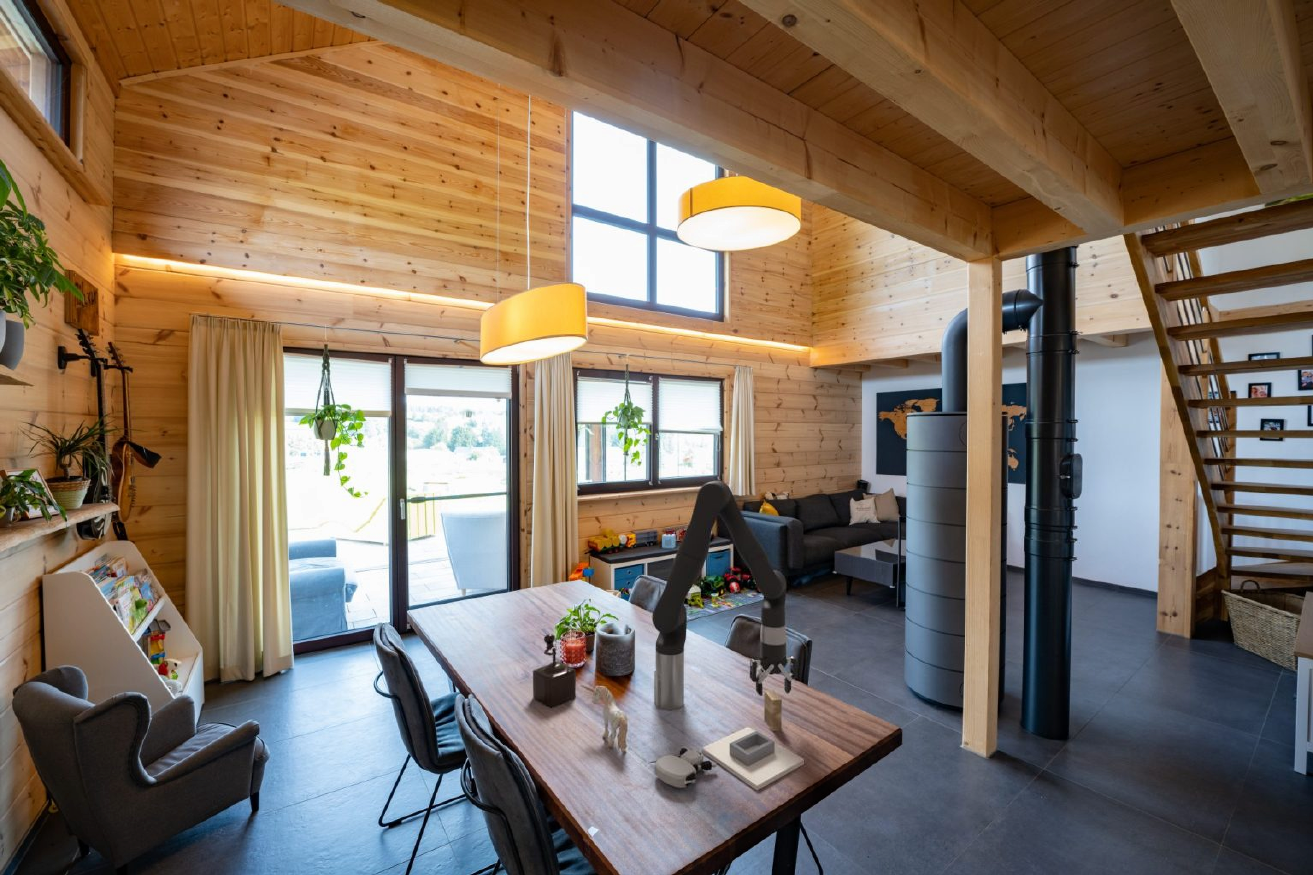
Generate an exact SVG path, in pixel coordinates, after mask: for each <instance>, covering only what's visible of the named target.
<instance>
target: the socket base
mask: <svg viewBox="0 0 1313 875" xmlns="http://www.w3.org/2000/svg"><path fill="white" fill-rule="evenodd" d="M701 753H702V754H703V755H705V756H707V757H708V758H709V759H711V760H713V762H715V763H716V764H717V765H720V766H721V767H722V768H724V769H725V770H727V771H729V772H730V773H731V774H732V775H734V776H735V777H737V778H739V780H741V781H743V782H744V783H746V784H747V785H748V786H750V787H751V788H752V789H754V790H755V791H759V790H761V789H763V788H764V787H766V786H768V785H769V784H771V783H773V782H775V781H777V780H778V779H780V778H782V777H784V776H785V775H787V774H789V773H791V772H792V771H795V770H797V769H798V768H799V767H801V766H803V765H805V759H804V758H802V757H801V756H799V755H797V754H795V753H793V752H792V751H790V750H789V749H786V748H785V747H784V746H781V745H779V744H778V743H776V742H775V741H774V740H773V739H771V738H770V737H768V736H766V735H764V734H763V733H762V732H759V731H757V730H754V729H752V728H750V727H749V726H746V727H745V728H742V729H740V730H738V731H736V732H733V733H732V734H730V735H727V736H725V737H723V738H720V739H718V740H717V741H714V742H712V743H710V744H708V745H705V746H704V747H702V748H701Z"/></svg>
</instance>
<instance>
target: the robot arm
mask: <svg viewBox="0 0 1313 875" xmlns="http://www.w3.org/2000/svg"><path fill="white" fill-rule="evenodd" d="M743 515H744V514H742V511H741V510H740V507H739V505H738V503H737V502H736V499H735V496H734V495H733V493H732V489H731V488H730V486H729V485H728V484H727V483H725V482H724V481H723V480H712V481H708V482H706V483H704V484H703V485H701V487H700V488H699V490H698V493H697V495H696V500H695V503H694V507H693V512H692V515H691V518H690V521H689V524H688V526H687V527H686V530H685V532H684V535H683V537H682V539H681V542H680V544H679V547H678V549H677V552H676V555H675V557H674V559H673V560H674V561H673V564H672V565H671V569H670V571H669V574H668V578H667V582H666V583H665V587H664V589H663V591H662V593H661V596H660V598H659V599H658V601H657V603H656V605H655V607H654V609H653V611H652V615H651V616H652V619H651V620H652V624H653V626H654V628H655V629H656V631H657V632H659V633H658V636H657V639H656V640H655V670H654V673H653V701H654V703H655V707H656V709H662V710H666V711H667V710H668V711H670V710H671V711H673V710H678V709H680V708H682V707H683V706H684V702H685V682H684V681H685V643H686V641H687V640H686V639H687V630H688V629H687V625H688V622H687V621H688V616H687V615H688V614H687V613H688V612H687V608H686V606H685V604H684V602H685V600H686V598H687V596H688V593H689V592H690V590H691V589H692V587H693V586H694V585H695V583H696V581H697V579H698V578H699V576H700V574H701V572H702V570H703V569H704V566H705V563H706V561H707V559H708V558H707V557H708V554H709V551H710V545H711V535H712V531H713V528H714V525H715V523H716V521H717V518H718V516H720V518H721V519H722V521H723V522H724V524H725V525H726V527H727V530H728V532H729V533H730V534H729V535H730V537H731V540H732V542H733V544H734V546H735V548H736V550H737V552H738V554H739V555H740V557H741V559H742V560H743V562H744V563H745V565H746V566H747V568H748V569H749V571H750V574H751V577H752V578H753V581H754V583H755V585H756V587H757V589H758V590H759V592H760V593H761V594H762V596H763V601H762V606H761V611H760V613H761V614H760V616H761V617H760V619H761V621H760V623H761V624H760V625H761V626H760V636H759V638H760V658H759V659H754V658H751V659H750V661H749V678H750V680H751V682H753V683H755V691H756V693H757V694H758V696H760V697H762V696H763V693H764V692H763V681H764V680H765V679H766V678H767V677H768V676H771V675H772V676H773V675H781V673H782V675H783V676H784V677H785V678H784V679H783V680H784V692H785V693H786V694H790V692H791V691H792V681H793V680H794V679H798V675H799V674H798V663H797V662H798V660H797V658H795V657H794V656H793V655H790V656H789V657H787V630H786V611H785V609H786V608H785V606H786V597H787V596H786V594H787V580H786V578H785V575H784V574H783V573H782V572H780V571H779V570H774V569H773V567H772V565H771V564H770V559H769V558H770V557H769V555H768V553H767V552H766V551H765V549H764V547H763V546H762V544H761V543H760V542H759V540H758V539H757V537H756V535H755V534H754V532H753V530H752V529H751V528H750V526H749V524H748V522H747V521H746V519H745V517H744V516H743ZM786 665H789V671H790V672H788V671H787V670H786V668H785V667H786ZM759 666H761V667H760V668H759ZM758 668H759V670H758ZM757 670H758V673H757Z"/></svg>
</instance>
